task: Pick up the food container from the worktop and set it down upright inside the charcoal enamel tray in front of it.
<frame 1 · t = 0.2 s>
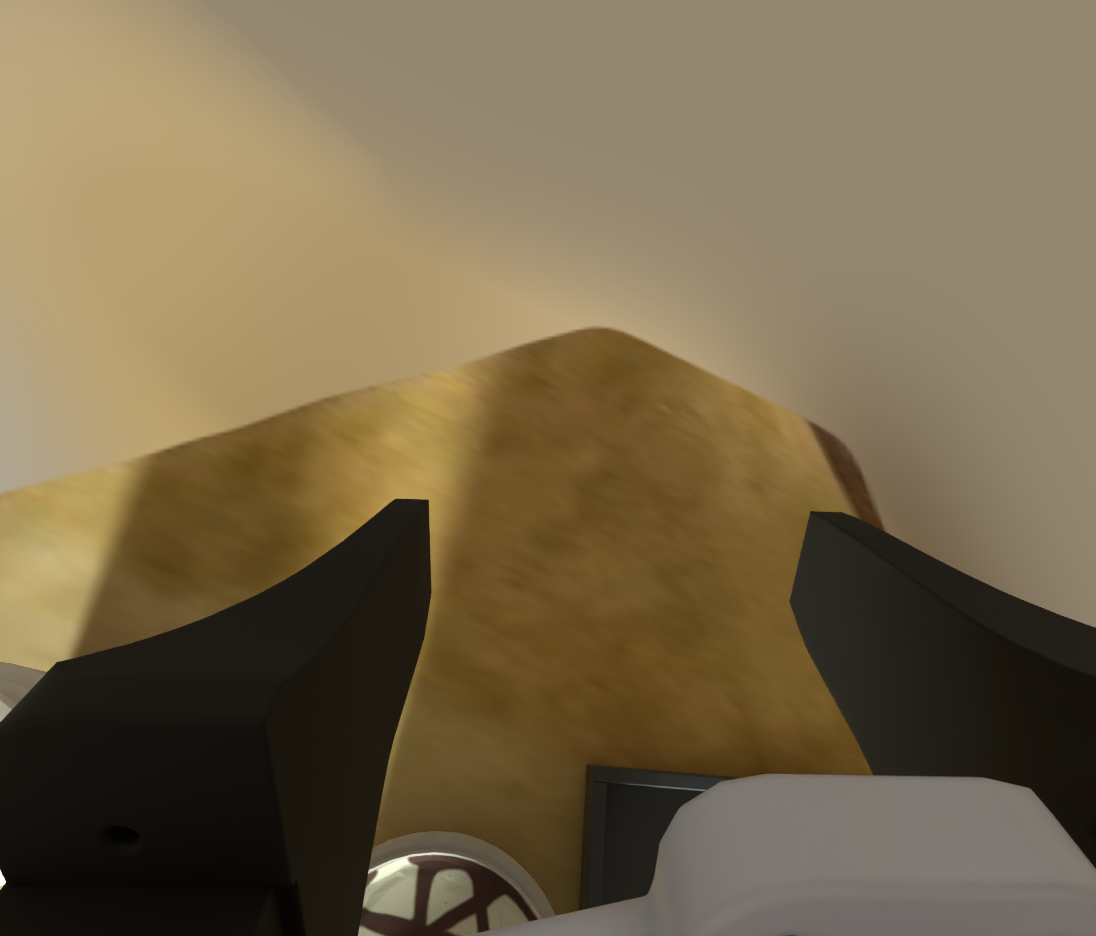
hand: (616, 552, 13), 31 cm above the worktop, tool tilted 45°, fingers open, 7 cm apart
food container: (431, 876, 37), on the worktop
coffee cup: (95, 767, 38), on the worktop
tray: (735, 920, 38), on the worktop
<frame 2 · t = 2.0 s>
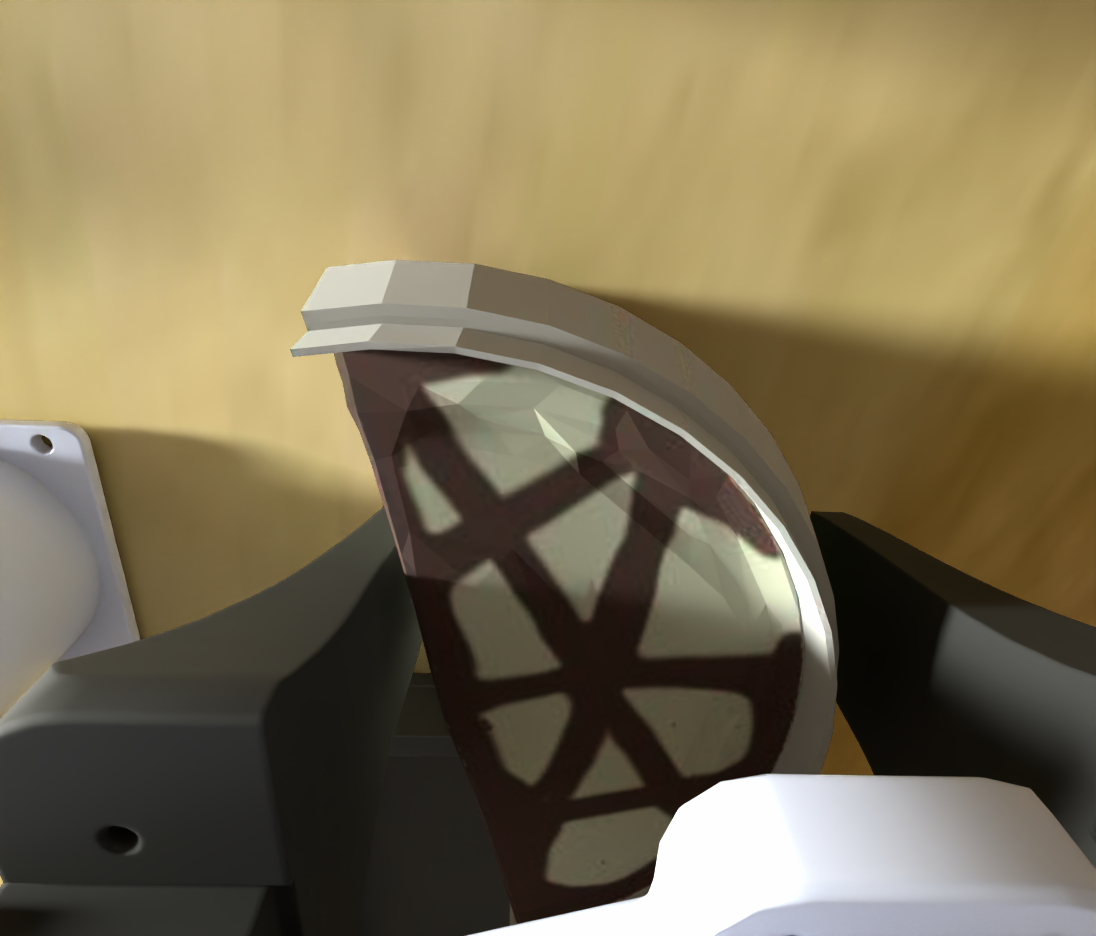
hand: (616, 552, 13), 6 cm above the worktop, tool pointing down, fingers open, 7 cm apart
food container: (589, 432, 18), on the worktop
tray: (530, 860, 25), on the worktop
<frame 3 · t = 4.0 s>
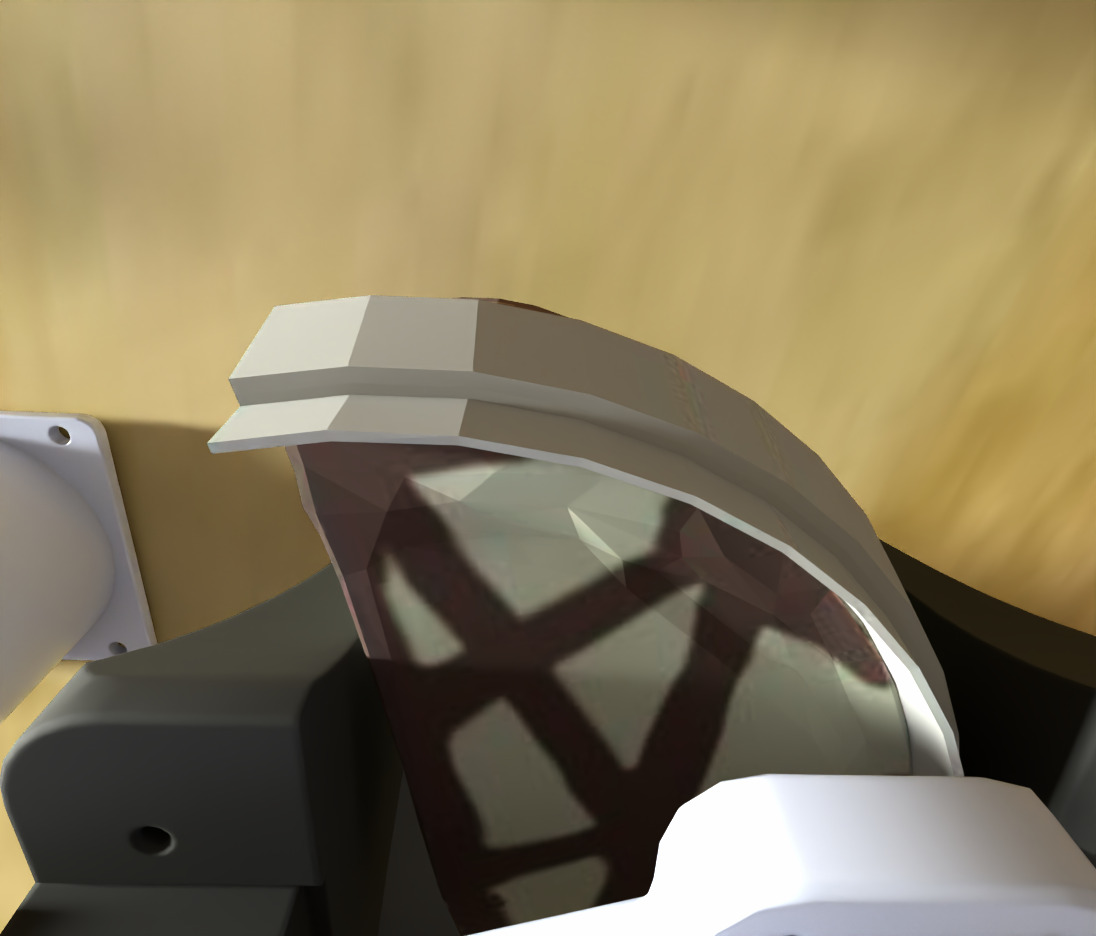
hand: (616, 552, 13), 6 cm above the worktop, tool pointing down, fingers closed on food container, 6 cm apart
food container: (599, 472, 16), point 3 cm above the worktop, touching gripper
tray: (533, 848, 26), on the worktop
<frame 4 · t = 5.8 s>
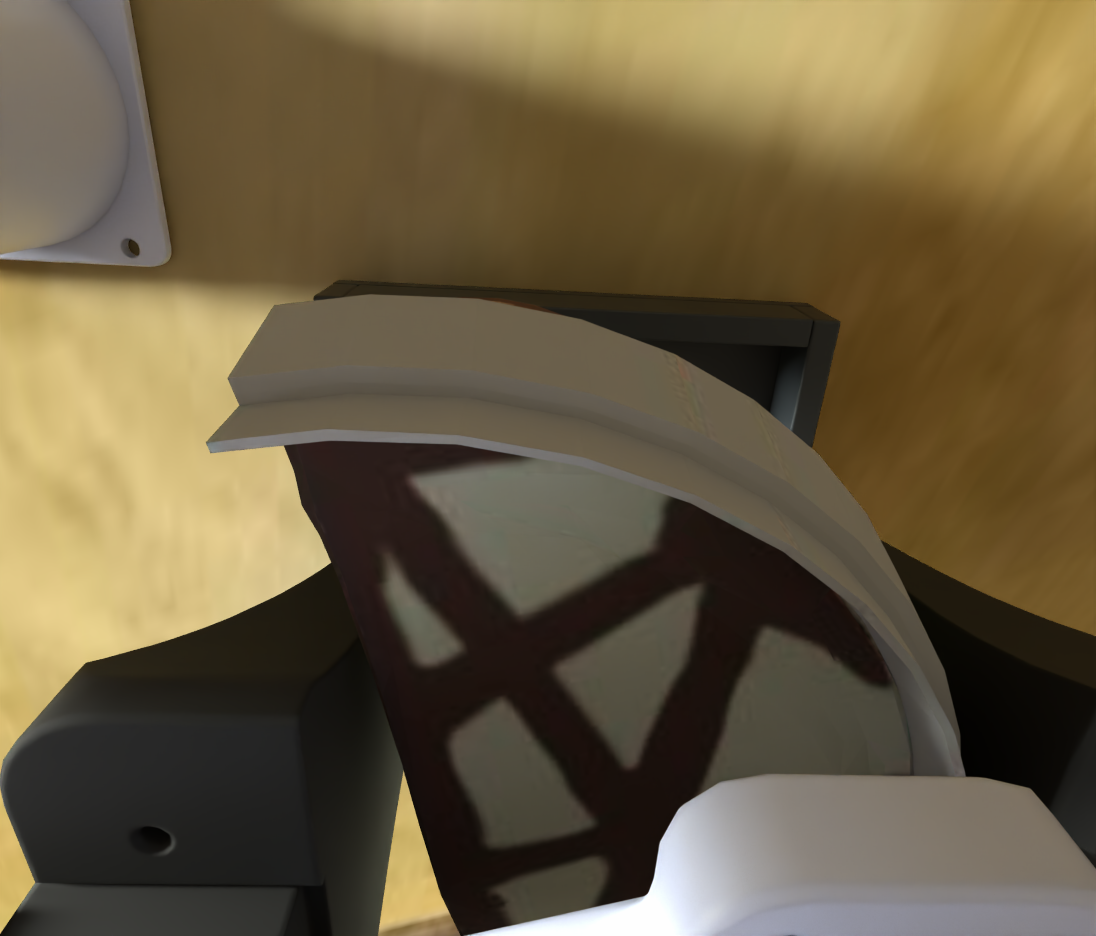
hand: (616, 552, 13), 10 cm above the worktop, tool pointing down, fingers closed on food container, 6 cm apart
food container: (600, 472, 16), point 7 cm above the worktop, touching gripper
tray: (559, 537, 25), on the worktop
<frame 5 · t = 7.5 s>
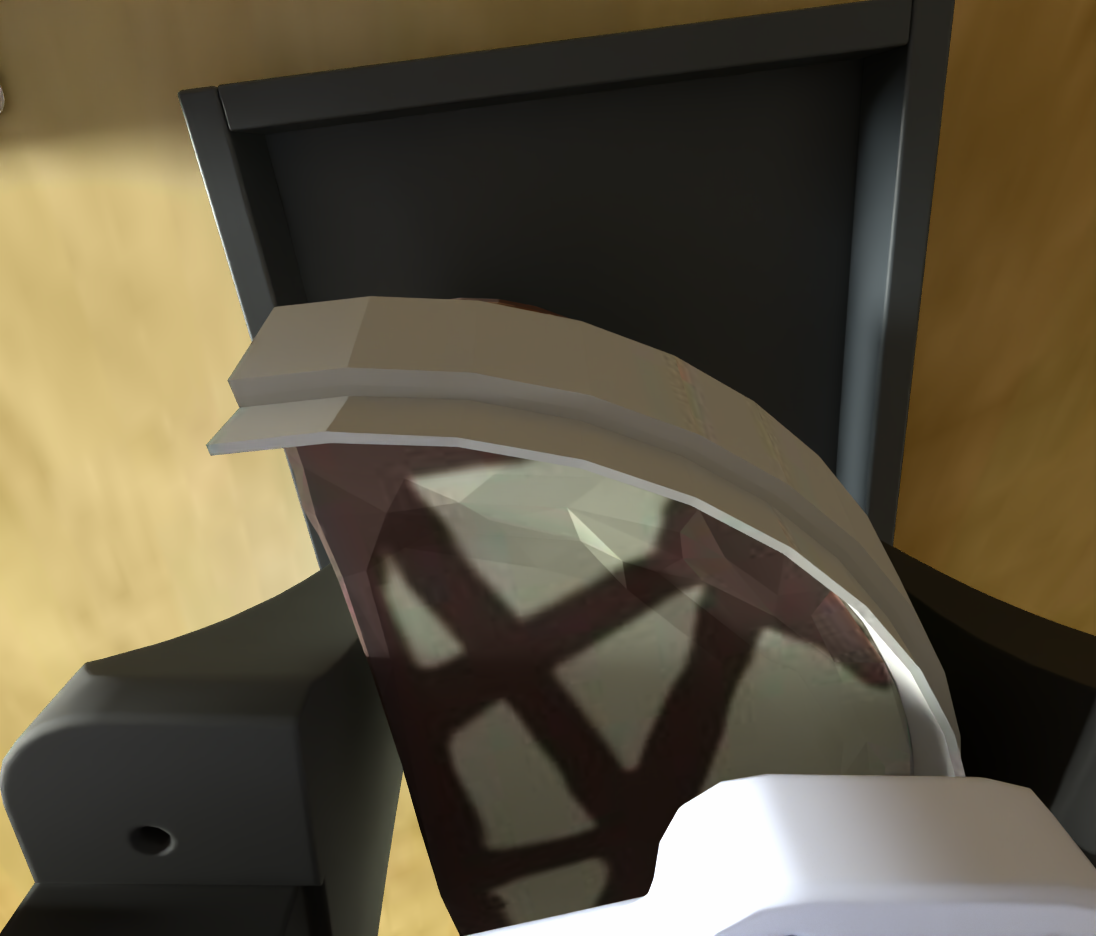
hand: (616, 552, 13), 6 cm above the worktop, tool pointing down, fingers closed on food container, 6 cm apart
food container: (600, 472, 16), point 3 cm above the worktop, touching gripper
tray: (590, 429, 19), on the worktop
when the fingers open (4 cm above the worktop, at t = 8.9 s): food container stays where it is, resting on tray.
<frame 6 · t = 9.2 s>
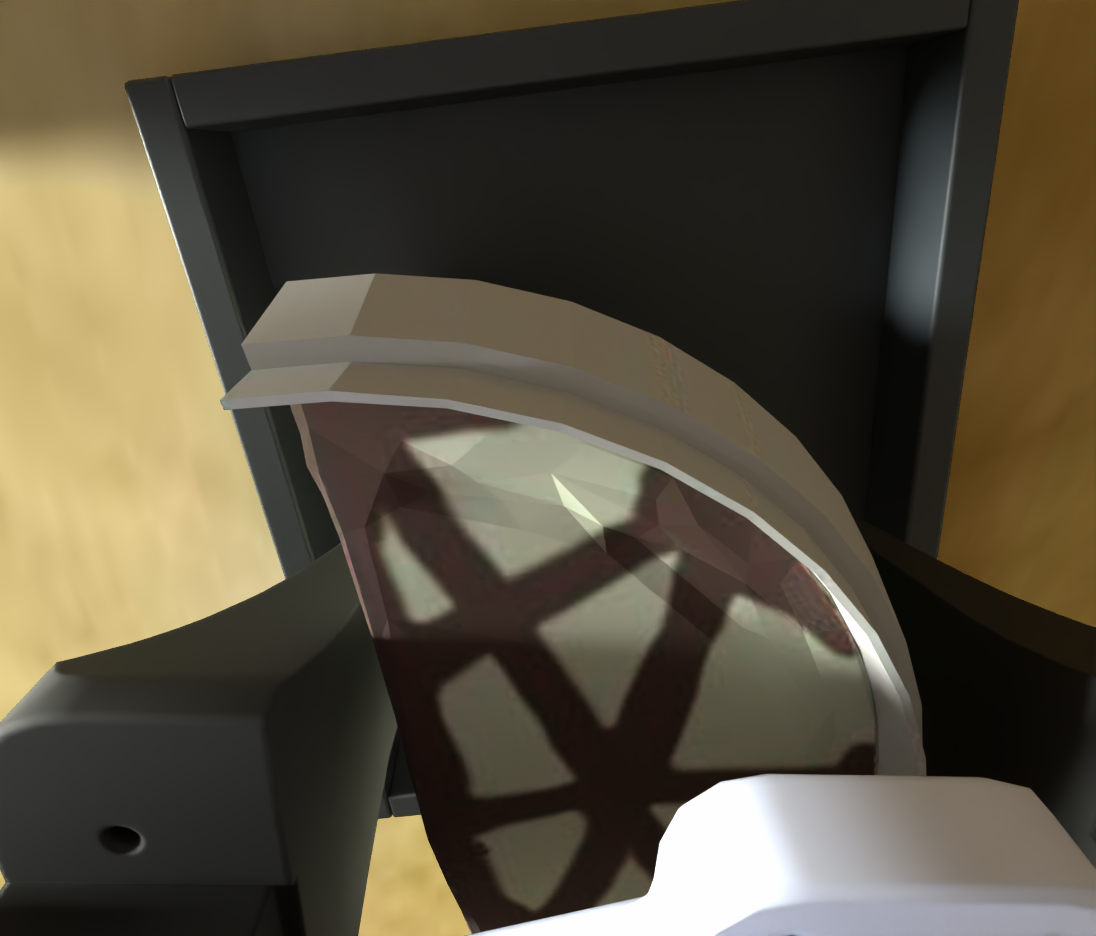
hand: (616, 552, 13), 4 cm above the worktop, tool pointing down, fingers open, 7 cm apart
food container: (601, 459, 17), resting on tray
tray: (596, 457, 17), on the worktop
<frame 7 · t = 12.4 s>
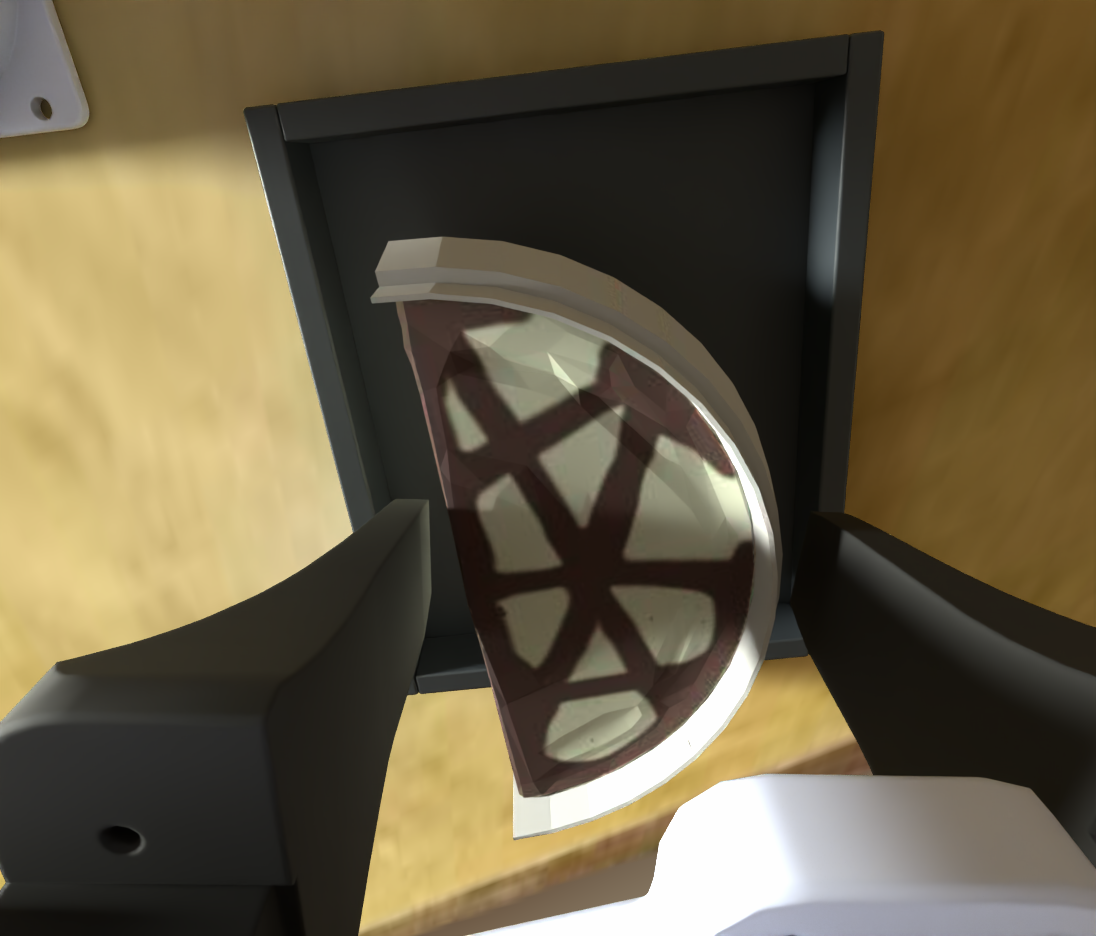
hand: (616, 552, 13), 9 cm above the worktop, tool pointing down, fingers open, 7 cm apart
food container: (587, 401, 21), resting on tray
tray: (584, 400, 21), on the worktop
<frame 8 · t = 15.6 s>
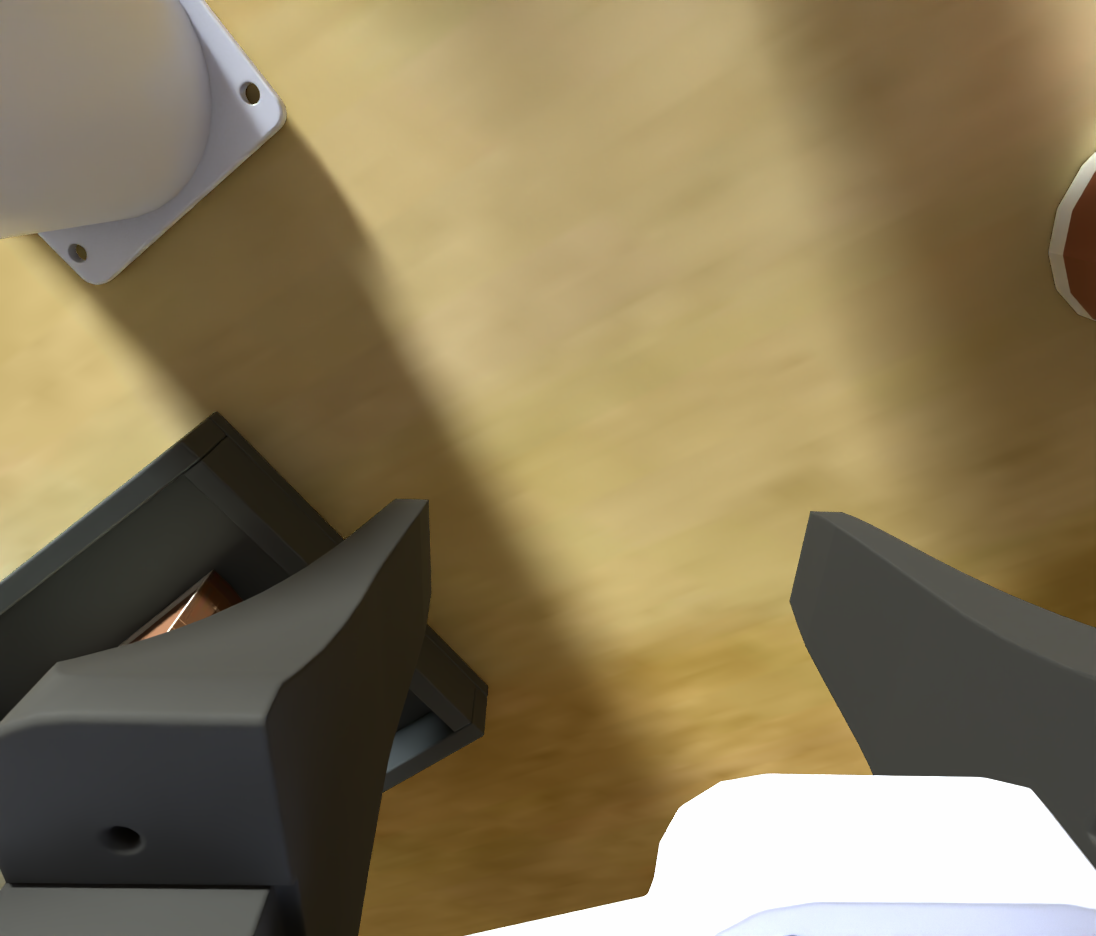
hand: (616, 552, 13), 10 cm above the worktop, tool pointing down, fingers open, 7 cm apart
food container: (198, 682, 27), resting on tray
tray: (199, 674, 27), on the worktop
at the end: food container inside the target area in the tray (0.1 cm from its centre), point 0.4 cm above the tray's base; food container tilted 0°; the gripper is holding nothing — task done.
